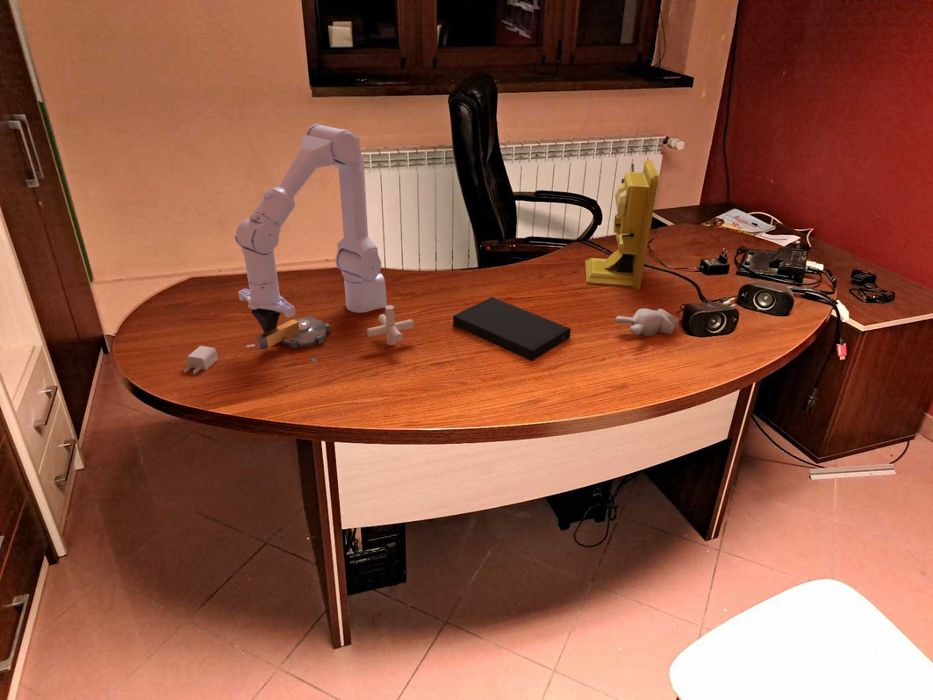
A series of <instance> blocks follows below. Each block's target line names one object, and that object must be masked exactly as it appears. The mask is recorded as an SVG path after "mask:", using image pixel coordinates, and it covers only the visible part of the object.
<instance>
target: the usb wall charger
mask: <svg viewBox="0 0 933 700" xmlns="http://www.w3.org/2000/svg"><path fill="white" fill-rule="evenodd" d="M218 360H219V357H218V352H217V350H216V348H215V347H210V346H204V345H199V346H198V347H197V348H195V349H194V350H193V351H192V352H191V353H190V354H188V356H186V363H187V366H186V367H185V369H183V371H184V374H186V373H187V372H188V371H189V370H191V369H194V370H193V372H192V373H193V375H195V374H197V373H198V372H199V371H200V370H204V371H205V370H208V369H209V368H210V367H211V366H212V365H213V364H214V363H216V362H217V361H218Z"/></svg>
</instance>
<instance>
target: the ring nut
mask: <svg viewBox="0 0 933 700" xmlns="http://www.w3.org/2000/svg"><path fill="white" fill-rule="evenodd" d="M327 333H331V327H330V325H329V323H328V322H323V320H320V319H318V318H314V316H307V317H297V318H293V319H291V320H290V319H289V320H287V319H286V320H285V321H283V322H282V324H280V325H277V327H275V328H273V329H271V330H269V331H267V332H265V333H264V332H263V333H259V334H257V336H256V341H257V346H258V347H257V348H258V349H259V350H266V349H268V348H270V347H272V346H274V345H276V344H278V343H280V342H281V343H282V344H283V345H285V346H287V347H290V348H291V349H295V350H296V349H297V350H298V349H299V348H309V347H312V346H316V345H321V344H324V342H325V341H324V340H325V339H326V337H327Z"/></svg>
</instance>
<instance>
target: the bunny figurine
mask: <svg viewBox="0 0 933 700" xmlns="http://www.w3.org/2000/svg"><path fill="white" fill-rule="evenodd" d="M679 320H680V318H677V317H676V316H674V315H673V314H672V313H669V312H667V311H666V310H664V309H663V308H658V309H657V310H654V309H649V308H640V309H637V310H636V312H635V313H634V314H633V316H632V317H629V316H622V315H617V316H616V317H615V319H614V320H613V321H614V322H615V323H618V324H622V323H623V324H629V323H630V324H631V326H630V328H629V329H630V332H631V334H634V335H637V336H639V335H641V334H642V335H643V336H645V337H646V336H647V337H648V336H650V337H651V336H654V335H656V334H658V333H664V334H670V335H671V334H673V332H674V329H675V327H676V326H678V323H679Z"/></svg>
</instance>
